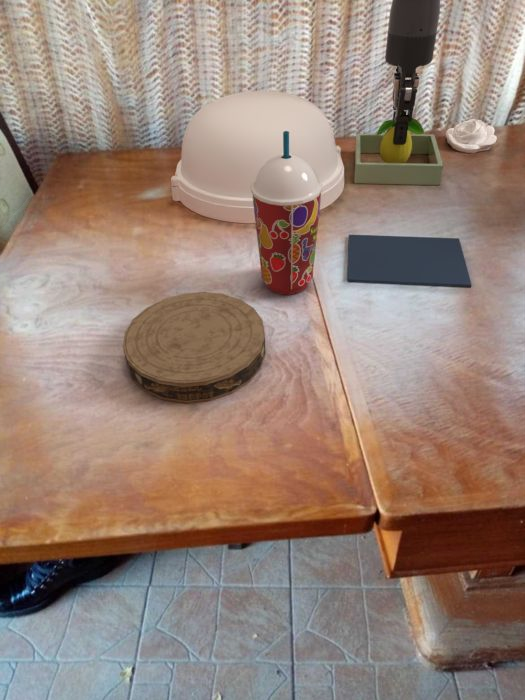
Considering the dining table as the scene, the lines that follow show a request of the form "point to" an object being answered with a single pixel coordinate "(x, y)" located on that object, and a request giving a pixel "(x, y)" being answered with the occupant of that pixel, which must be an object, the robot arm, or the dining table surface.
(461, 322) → the dining table surface
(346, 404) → the dining table surface
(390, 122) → the lemon
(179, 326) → the wood slice
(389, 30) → the robot arm
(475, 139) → the rose
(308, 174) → the smoothie
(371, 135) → the sage green tray
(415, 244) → the mat
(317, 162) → the dome cover
